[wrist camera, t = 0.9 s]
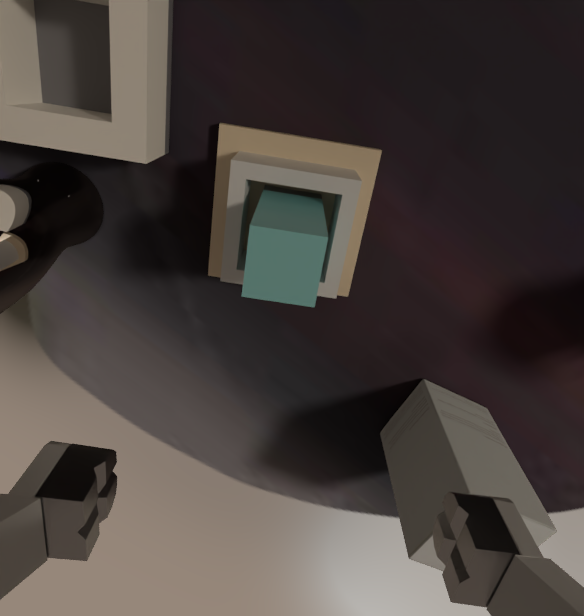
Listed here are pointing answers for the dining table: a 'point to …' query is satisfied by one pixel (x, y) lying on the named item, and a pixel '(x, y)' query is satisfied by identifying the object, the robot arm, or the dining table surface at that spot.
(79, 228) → the beer glass
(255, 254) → the plug
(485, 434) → the supplement box
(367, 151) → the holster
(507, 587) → the robot arm
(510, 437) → the dining table surface
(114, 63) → the port block
